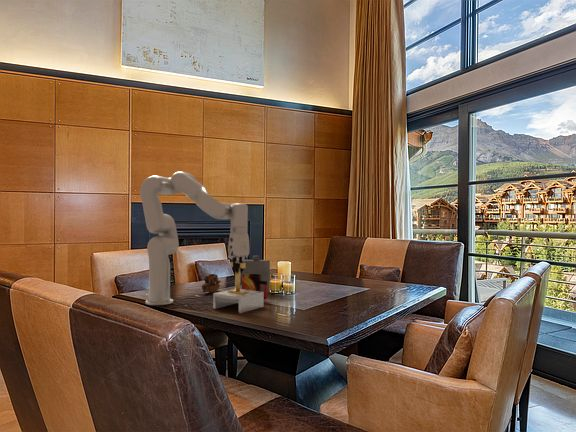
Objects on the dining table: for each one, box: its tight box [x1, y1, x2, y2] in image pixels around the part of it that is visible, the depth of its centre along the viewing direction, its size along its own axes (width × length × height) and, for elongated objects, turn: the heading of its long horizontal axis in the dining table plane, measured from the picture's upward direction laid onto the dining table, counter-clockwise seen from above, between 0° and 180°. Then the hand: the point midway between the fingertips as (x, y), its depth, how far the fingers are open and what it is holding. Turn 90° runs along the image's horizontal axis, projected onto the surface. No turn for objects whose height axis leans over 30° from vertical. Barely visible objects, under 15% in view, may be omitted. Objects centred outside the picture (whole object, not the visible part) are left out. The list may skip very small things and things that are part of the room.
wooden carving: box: [201, 273, 222, 293], centre depth 227 cm, size 16×5×10 cm, turn 164°
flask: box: [241, 255, 271, 294], centre depth 226 cm, size 15×6×20 cm, turn 88°
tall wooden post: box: [228, 261, 247, 295], centre depth 189 cm, size 3×8×14 cm, turn 56°
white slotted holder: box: [212, 288, 265, 314], centre depth 189 cm, size 16×16×7 cm
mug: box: [241, 274, 268, 300], centre depth 207 cm, size 10×14×12 cm
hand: (238, 271), depth 189 cm, fingers closed on tall wooden post, 2 cm apart
